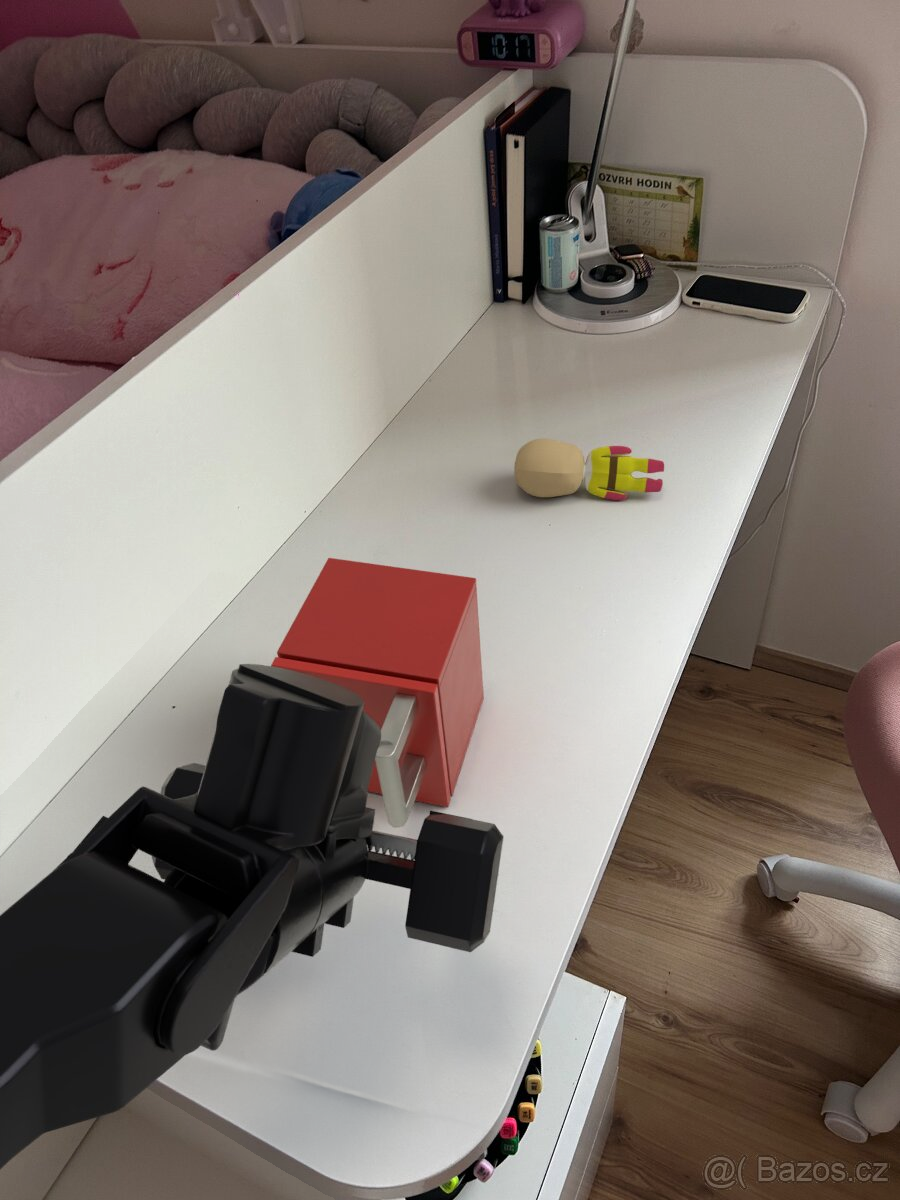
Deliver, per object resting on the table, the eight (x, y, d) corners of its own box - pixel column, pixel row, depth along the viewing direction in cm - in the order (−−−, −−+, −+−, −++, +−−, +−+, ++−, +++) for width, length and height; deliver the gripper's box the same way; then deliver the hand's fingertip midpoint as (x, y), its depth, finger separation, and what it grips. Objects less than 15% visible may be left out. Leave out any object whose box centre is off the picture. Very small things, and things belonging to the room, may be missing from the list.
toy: (665, 443, 95) (521, 433, 98) (667, 450, 88) (512, 439, 91) (659, 501, 97) (517, 489, 99) (660, 511, 90) (507, 499, 92)
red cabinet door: (428, 869, 66) (410, 756, 56) (278, 836, 68) (238, 724, 59) (451, 799, 70) (437, 683, 60) (308, 770, 72) (275, 656, 63)
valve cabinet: (452, 797, 70) (438, 679, 61) (310, 769, 73) (276, 652, 63) (484, 697, 77) (476, 577, 67) (353, 675, 80) (328, 557, 70)
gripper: (486, 754, 40) (539, 716, 55) (110, 684, 44) (254, 667, 60) (450, 1007, 40) (512, 900, 55) (79, 912, 45) (230, 838, 60)
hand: (373, 819), depth 57 cm, fingers open, 9 cm apart
